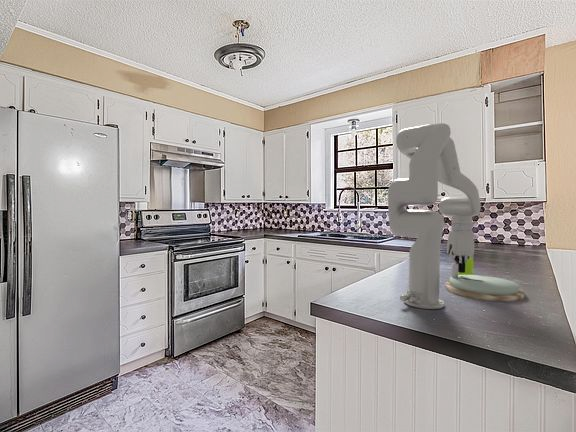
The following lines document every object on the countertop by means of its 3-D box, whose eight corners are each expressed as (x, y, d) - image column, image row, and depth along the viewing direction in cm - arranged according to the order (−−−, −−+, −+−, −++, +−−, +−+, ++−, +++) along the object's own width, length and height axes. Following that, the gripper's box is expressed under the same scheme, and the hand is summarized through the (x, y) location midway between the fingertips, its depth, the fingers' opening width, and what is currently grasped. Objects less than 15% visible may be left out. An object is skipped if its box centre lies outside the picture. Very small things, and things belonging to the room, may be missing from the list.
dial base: (501, 306, 107) (502, 300, 107) (431, 288, 129) (431, 283, 129) (537, 294, 120) (537, 290, 120) (468, 280, 143) (468, 276, 143)
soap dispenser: (468, 274, 153) (469, 232, 152) (475, 278, 146) (476, 234, 145) (455, 274, 154) (456, 232, 153) (461, 277, 147) (462, 233, 146)
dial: (522, 285, 126) (523, 266, 125) (515, 299, 108) (516, 276, 108) (457, 276, 141) (458, 259, 141) (442, 287, 124) (442, 267, 123)
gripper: (469, 226, 138) (468, 269, 139) (439, 227, 135) (438, 271, 136) (484, 228, 131) (483, 273, 132) (452, 229, 128) (451, 275, 129)
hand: (460, 272), depth 134 cm, fingers closed
